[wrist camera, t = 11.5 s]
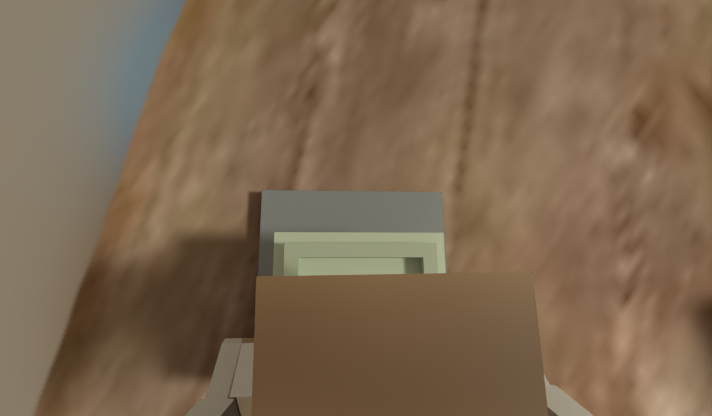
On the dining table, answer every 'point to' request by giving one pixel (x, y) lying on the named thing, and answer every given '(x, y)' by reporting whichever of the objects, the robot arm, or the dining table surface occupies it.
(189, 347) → the dining table surface
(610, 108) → the dining table surface
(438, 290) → the walnut brick
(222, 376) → the robot arm
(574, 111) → the dining table surface
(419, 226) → the sage base block
